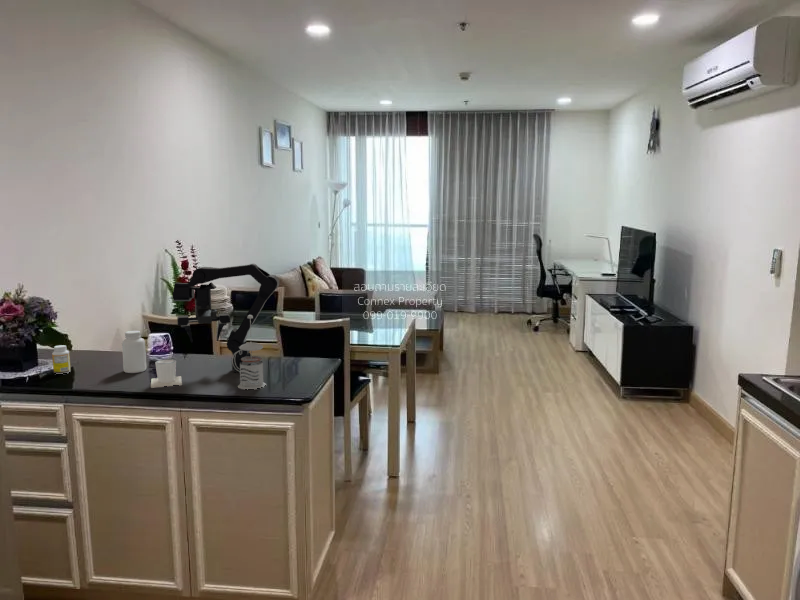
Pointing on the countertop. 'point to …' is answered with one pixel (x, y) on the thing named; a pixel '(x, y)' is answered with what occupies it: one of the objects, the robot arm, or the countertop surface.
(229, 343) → the robot arm
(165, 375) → the shot glass
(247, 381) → the french press
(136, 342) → the pill bottle
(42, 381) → the countertop surface
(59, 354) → the supplement bottle
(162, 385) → the coaster
